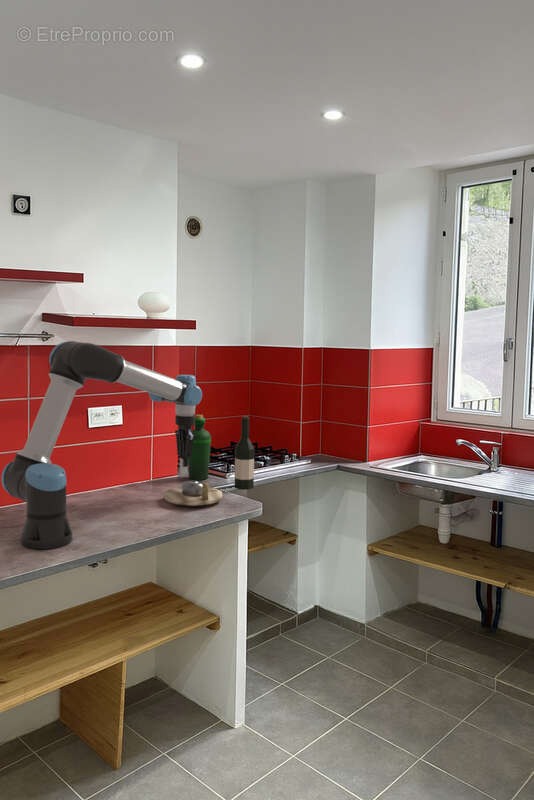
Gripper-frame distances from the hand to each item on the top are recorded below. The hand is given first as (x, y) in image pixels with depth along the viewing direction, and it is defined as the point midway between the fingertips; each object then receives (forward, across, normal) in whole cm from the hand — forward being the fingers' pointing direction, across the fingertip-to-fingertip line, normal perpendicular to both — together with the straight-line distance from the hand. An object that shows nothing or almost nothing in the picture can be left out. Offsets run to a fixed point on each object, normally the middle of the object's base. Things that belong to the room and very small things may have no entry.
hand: (183, 474), depth 256 cm
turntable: (+7, -8, -1) cm, 11 cm away
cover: (+6, -8, -1) cm, 10 cm away
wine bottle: (+9, +1, -29) cm, 30 cm away
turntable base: (+9, -8, -1) cm, 12 cm away
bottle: (+9, +23, -19) cm, 31 cm away
